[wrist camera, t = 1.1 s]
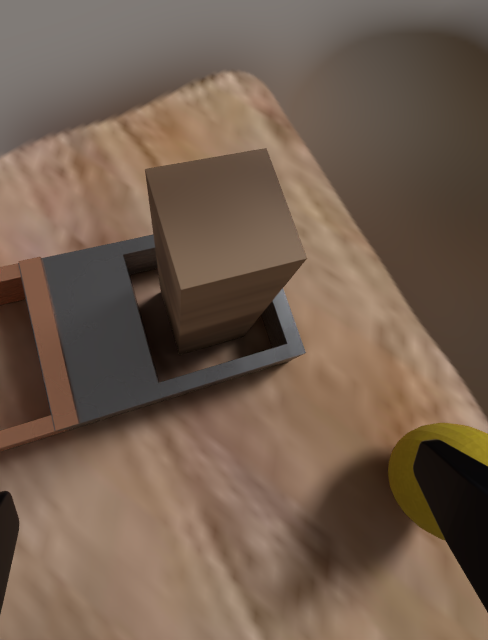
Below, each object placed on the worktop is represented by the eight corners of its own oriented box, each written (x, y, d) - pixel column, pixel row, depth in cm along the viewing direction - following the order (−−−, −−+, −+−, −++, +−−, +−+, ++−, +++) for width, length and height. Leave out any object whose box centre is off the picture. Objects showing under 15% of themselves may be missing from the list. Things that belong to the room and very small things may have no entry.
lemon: (465, 469, 24) (602, 494, 16) (412, 542, 22) (537, 608, 14) (400, 402, 24) (505, 396, 16) (344, 470, 22) (431, 497, 15)
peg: (243, 336, 23) (307, 258, 12) (179, 354, 22) (181, 289, 11) (223, 276, 24) (266, 148, 13) (160, 291, 23) (144, 169, 12)
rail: (290, 360, 23) (306, 352, 20) (-95, 481, 19) (-148, 493, 16) (247, 236, 25) (256, 210, 22) (-118, 318, 20) (-170, 301, 17)
